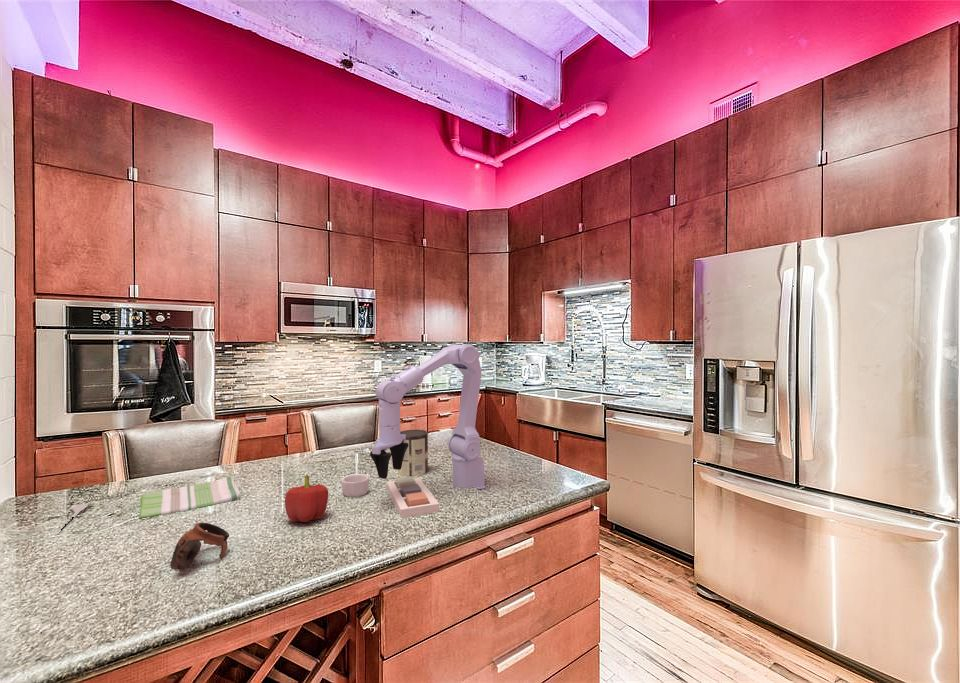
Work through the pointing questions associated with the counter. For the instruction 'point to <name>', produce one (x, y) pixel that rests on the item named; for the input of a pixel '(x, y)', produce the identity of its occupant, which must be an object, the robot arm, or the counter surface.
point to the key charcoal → (410, 489)
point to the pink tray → (413, 510)
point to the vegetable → (306, 502)
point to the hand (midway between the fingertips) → (390, 473)
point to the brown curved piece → (198, 543)
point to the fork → (79, 508)
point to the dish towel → (188, 497)
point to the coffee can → (415, 453)
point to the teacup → (355, 485)
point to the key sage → (404, 481)
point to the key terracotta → (416, 499)
